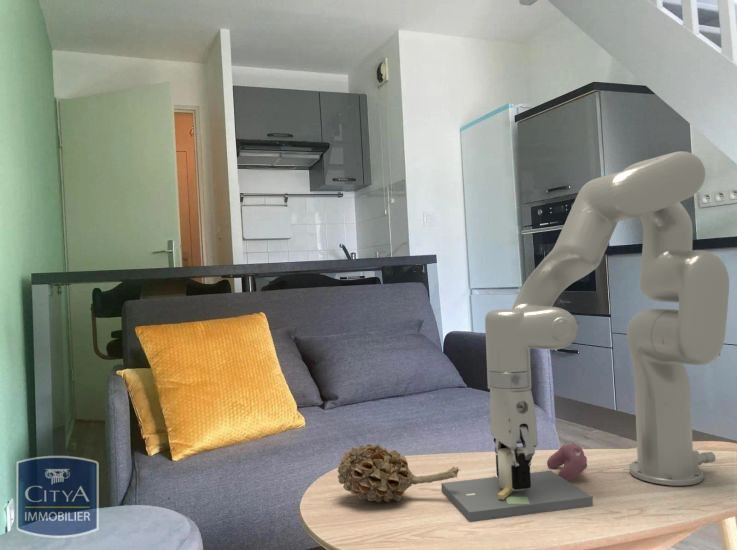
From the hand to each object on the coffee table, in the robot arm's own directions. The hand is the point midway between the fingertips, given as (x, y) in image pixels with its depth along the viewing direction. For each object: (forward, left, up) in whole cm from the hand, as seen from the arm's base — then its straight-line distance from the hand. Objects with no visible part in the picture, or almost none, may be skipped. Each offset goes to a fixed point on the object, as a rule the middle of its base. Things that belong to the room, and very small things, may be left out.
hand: (513, 481), depth 103 cm
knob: (+1, +1, -1) cm, 2 cm away
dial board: (0, 0, -3) cm, 3 cm away
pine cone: (+19, -5, -3) cm, 20 cm away
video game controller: (-15, -8, -3) cm, 17 cm away
